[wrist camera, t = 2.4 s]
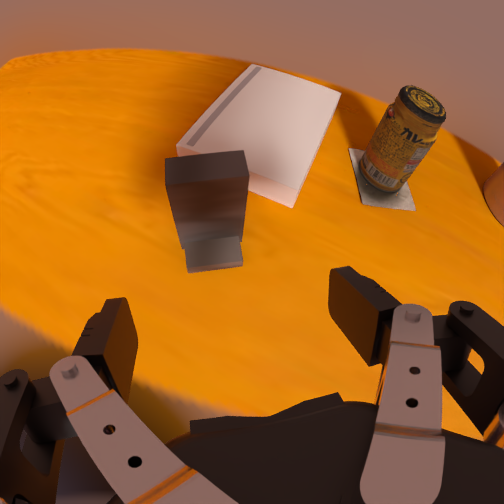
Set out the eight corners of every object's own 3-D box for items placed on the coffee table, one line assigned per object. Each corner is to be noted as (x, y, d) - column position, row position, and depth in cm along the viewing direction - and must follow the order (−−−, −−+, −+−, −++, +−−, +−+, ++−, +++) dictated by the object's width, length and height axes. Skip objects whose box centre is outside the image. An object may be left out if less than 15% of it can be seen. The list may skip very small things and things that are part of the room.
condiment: (397, 157, 35) (438, 89, 25) (415, 211, 32) (471, 144, 21) (347, 149, 35) (381, 71, 24) (361, 205, 31) (411, 126, 21)
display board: (250, 80, 40) (252, 63, 37) (335, 109, 38) (341, 92, 35) (179, 164, 32) (176, 144, 29) (292, 208, 30) (298, 190, 28)
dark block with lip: (237, 217, 29) (243, 147, 21) (246, 265, 27) (256, 205, 19) (180, 224, 28) (165, 156, 20) (184, 273, 26) (166, 216, 18)
